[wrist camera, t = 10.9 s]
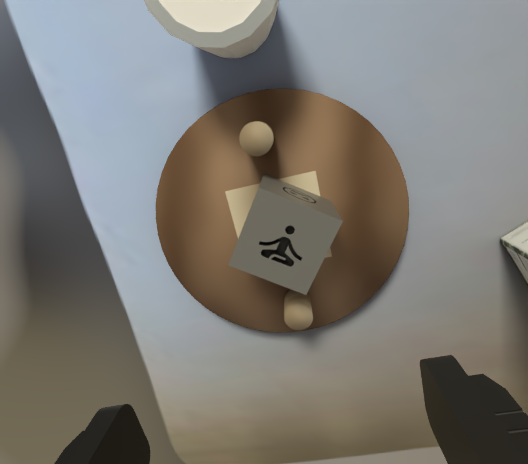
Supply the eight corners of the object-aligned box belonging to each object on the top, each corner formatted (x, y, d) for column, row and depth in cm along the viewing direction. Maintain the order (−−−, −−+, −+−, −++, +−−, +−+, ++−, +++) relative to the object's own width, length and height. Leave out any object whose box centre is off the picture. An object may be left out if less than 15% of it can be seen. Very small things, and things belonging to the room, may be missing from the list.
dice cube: (238, 237, 25) (228, 265, 20) (264, 173, 23) (258, 187, 18) (301, 261, 25) (306, 295, 20) (331, 200, 23) (342, 221, 19)
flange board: (385, 59, 22) (406, 46, 18) (413, 300, 27) (435, 329, 23) (128, 126, 24) (99, 127, 20) (201, 337, 29) (189, 369, 26)
